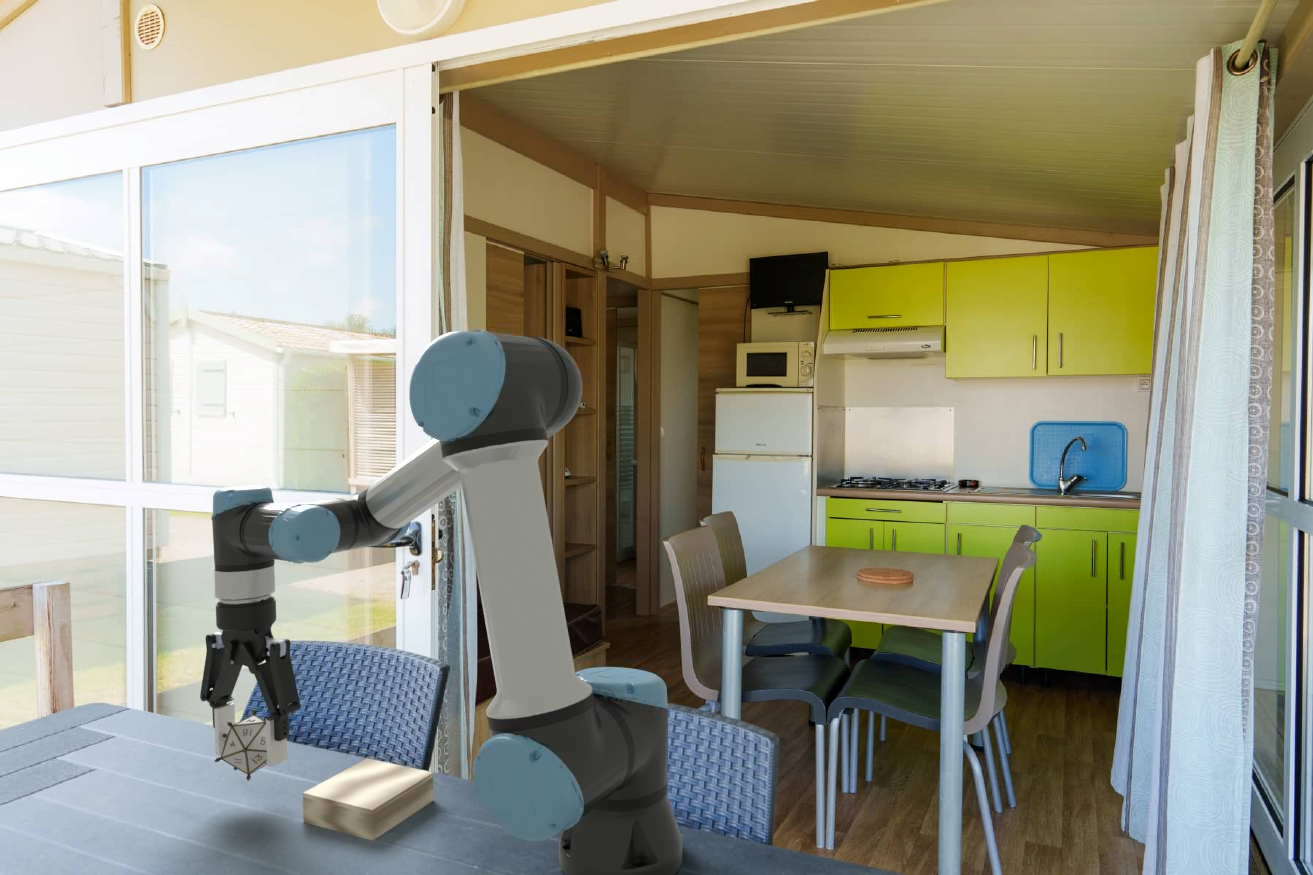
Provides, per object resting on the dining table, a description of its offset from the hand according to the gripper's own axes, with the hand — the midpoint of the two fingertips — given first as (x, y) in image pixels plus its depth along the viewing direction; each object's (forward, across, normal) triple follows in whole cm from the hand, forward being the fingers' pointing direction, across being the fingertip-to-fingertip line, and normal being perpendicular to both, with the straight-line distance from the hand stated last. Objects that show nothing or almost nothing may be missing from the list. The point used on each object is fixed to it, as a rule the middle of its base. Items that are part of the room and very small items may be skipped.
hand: (251, 756), depth 119 cm
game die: (+2, 0, 0) cm, 2 cm away
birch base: (+7, -17, -5) cm, 19 cm away
